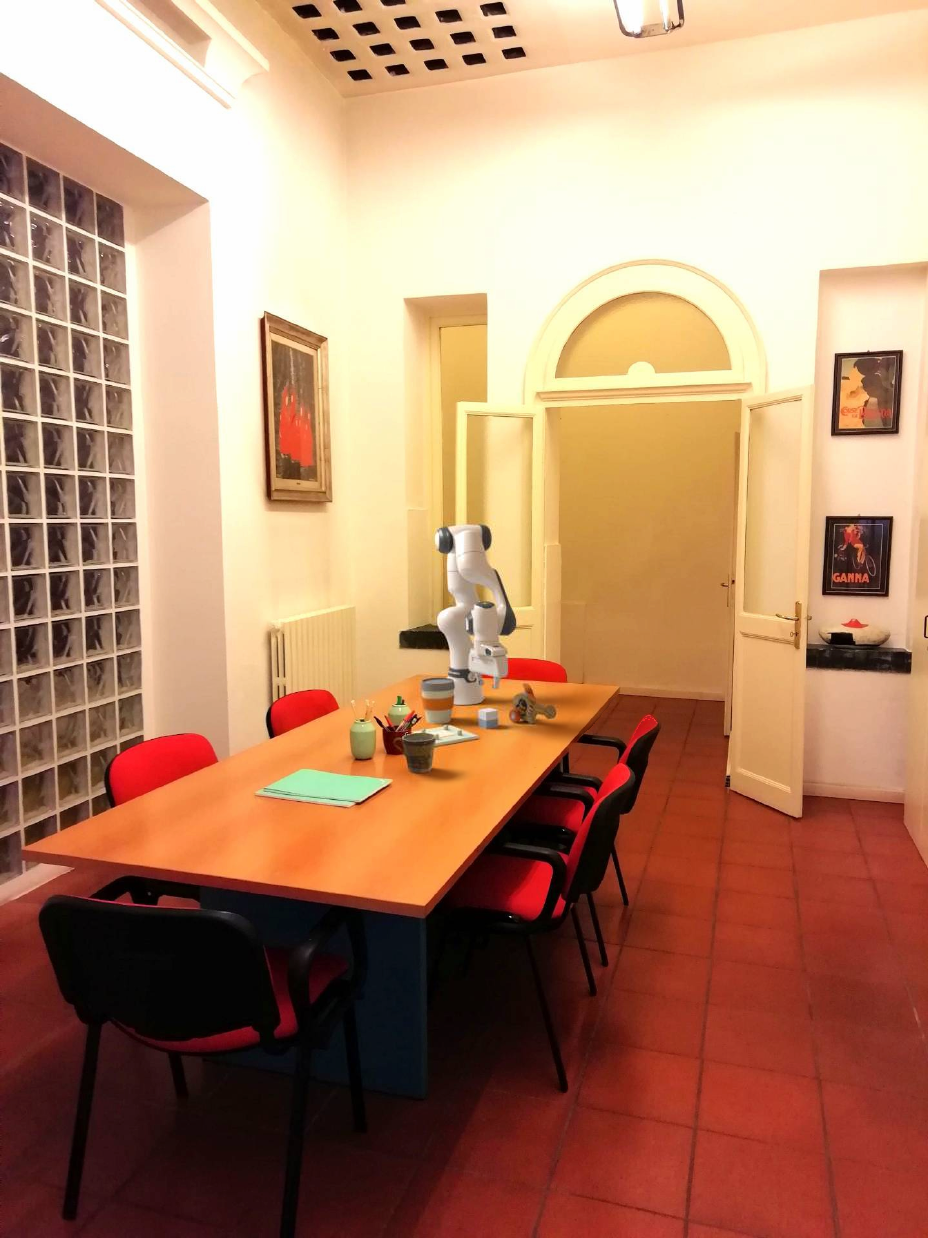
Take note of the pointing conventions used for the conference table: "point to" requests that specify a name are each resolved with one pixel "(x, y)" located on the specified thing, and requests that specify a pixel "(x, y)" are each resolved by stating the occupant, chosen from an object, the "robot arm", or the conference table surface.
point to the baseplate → (448, 735)
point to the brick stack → (488, 718)
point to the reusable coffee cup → (438, 699)
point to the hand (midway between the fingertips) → (488, 687)
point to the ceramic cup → (418, 751)
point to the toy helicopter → (529, 707)
